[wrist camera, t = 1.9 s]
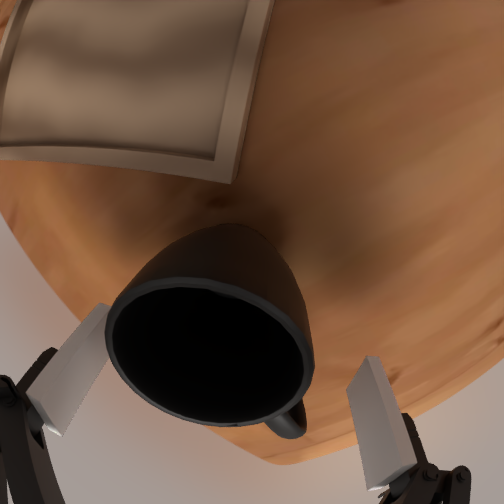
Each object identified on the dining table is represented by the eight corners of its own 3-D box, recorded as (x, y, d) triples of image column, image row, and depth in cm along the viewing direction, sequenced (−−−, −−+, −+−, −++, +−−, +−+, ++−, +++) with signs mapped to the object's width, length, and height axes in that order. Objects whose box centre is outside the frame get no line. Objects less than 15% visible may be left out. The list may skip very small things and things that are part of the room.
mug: (243, 361, 22) (230, 464, 13) (150, 242, 18) (69, 326, 9) (337, 322, 20) (366, 430, 11) (254, 177, 16) (235, 224, 7)
